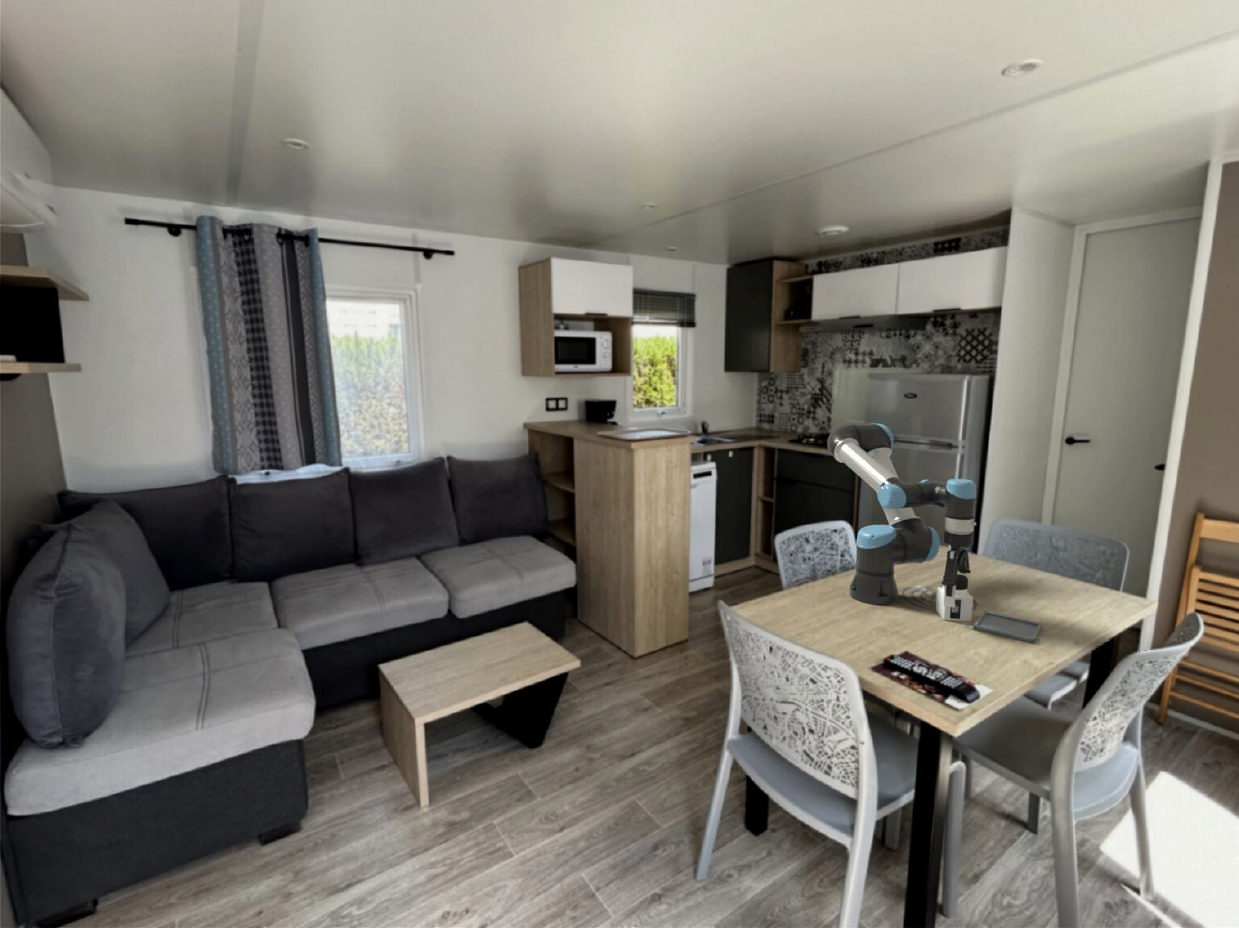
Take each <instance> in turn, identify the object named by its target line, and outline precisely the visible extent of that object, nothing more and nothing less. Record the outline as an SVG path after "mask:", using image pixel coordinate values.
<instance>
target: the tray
mask: <svg viewBox="0 0 1239 928" xmlns="http://www.w3.org/2000/svg"><path fill="white" fill-rule="evenodd" d="M1042 627H1043V623H1040V622H1037V621H1031V620H1027V619H1022V618H1017V617H1014V616H1008V615H1005V614H999V613H994V612H991V611H986V610H983V611H982V613H981V615H980V616H979V617H978V619H977V620H976V621H975V622H974V624H973V627H972V629H973V630H975V631H978V632H983V633H987V634H991V635H996V636H1000V637H1004V638H1008V639H1013V640H1016V641H1021V642H1024V643H1028V644H1032V645H1035V642H1036V640H1037V638H1038V636H1039V635H1040V633H1041V630H1042Z"/></svg>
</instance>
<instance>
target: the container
mask: <svg viewBox="0 0 1239 928" xmlns="http://www.w3.org/2000/svg"><path fill="white" fill-rule="evenodd" d="M942 578H943V579H944V575H943V576H942ZM943 579H942V580H943ZM948 581H949V580H948ZM955 586H956V591H955V607H954V608H953V607H949V606H944V590H945V585H943V584H942V586H937V587H936V600H935V602H936V603H935V611H936V612H937V613H938V615H939V616H940V617H941V618H942V619H943V620H944V621H957V622H972V620H973V609H974V608H973V607H974V606H973V605H974V604H973V603H974V597H973V596H972V594H970V593H969V592H968V589H969V587H968V586H969V578H968V576H967V577H966V576H964V575H962V574H958V573H957V577H956V581H955Z"/></svg>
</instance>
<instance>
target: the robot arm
mask: <svg viewBox="0 0 1239 928" xmlns="http://www.w3.org/2000/svg"><path fill="white" fill-rule="evenodd" d="M894 441H895V440H894V435H893V432H892V431H891V430H890V428H889V427H888V426H886V425H885V424H882V423H876V422H875V423H874V422H872V423H861V424H858V423H857V424H856V423H855V424H842V425H839V426H837V427H836V428H834V429H833V430H832V432H830V434H829V436H828V438H827V443H826V444H827V449H828V452H829V454H830V455H831V456H832V457H833V458H834V459H835V460H836V461H837V462H839V463H841V464H842V463H844V464H845V466H847V467H848V468H849V469H850V470H852V471H853V472H854V473H855V474H856V475H857V476H858V477H860V479H862V481H864V482H865V483H866V484H868V485H869V486H870V487H871V488H872V489H873V490H874V491H875V492H876V495H877V500H878V502H879V504H880V506H881V508H882V510H883V513H884V514H885V517H886V520H887V522H888V524H871V525H866V526H864V527H862V528H860V529H859V531H858V533H857V537H856V538H857V539H856V556H855V558H856V560H855V562H856V563H855V572H854V576H853V578H852V581H851V582H850V585H849V593H850V594H849V596H850V597H852V598H853V599H855V600H857V601H859V600H860V602H862V603H866V604H867V603H868V604H873V605H891V604H895V603H896V602H898V601H899V600H900V597H899V596H900V591H899V588H898V585H897V582H896V579H895V578H896V577H895V566H897V565H907V564H908V565H910V564H922V563H926V562H931V561H933V560H934V559H935V558H936V557H937V555H938V553H939V549H940V538H939V535H938V533H937V531H936V529H934V528H933V527H932V526H926V525H925V523H924V521H923V518H921V517H919V516H917V515H915V512H914V510H913V508H919V507H920V508H922V507H938V508H942V509H945V513H944V528H943V529H945V530H944V532H943V533H944V534H943V535H944V536H943V542H944V544H946V545H948V546H950V547H951V549H950V550H948V551H947V553H946V554H947V555H946V562H945V568H944V574H943V576H944V579H942V581H941V585H942V586H943V585H945V590H944V606H949V607H953V608H954V607H955V591H956V586H955V581H956V577H957V573H958V574H962V575H964V576H966V577H967V578H968V574H971V573H972V572H971V569H970V557H969V547H972V546H973V545H974V533H973V532H974V530H975V529H974V527H975V526H977V522H975V515H976V514H975V512H976V498H977V490H976V489H977V486H976V485H977V484H976V483H975V482H974V481H973V480H971V479H965V478H951V479H948V480H947V482H946V483H945V482H942V481H937V480H936V479H935V480H934V479H922V480H921V481H919V482H909V483H906V482H904V481H902V480H901V479H900V477H899V476H898V473H897V471H896V469H895V466H894V465H893V462H892V460H891V455H892V454H893V452H892V451H893V448H894V446H895V445H894V444H895V442H894ZM948 580H949V581H948Z"/></svg>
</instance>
